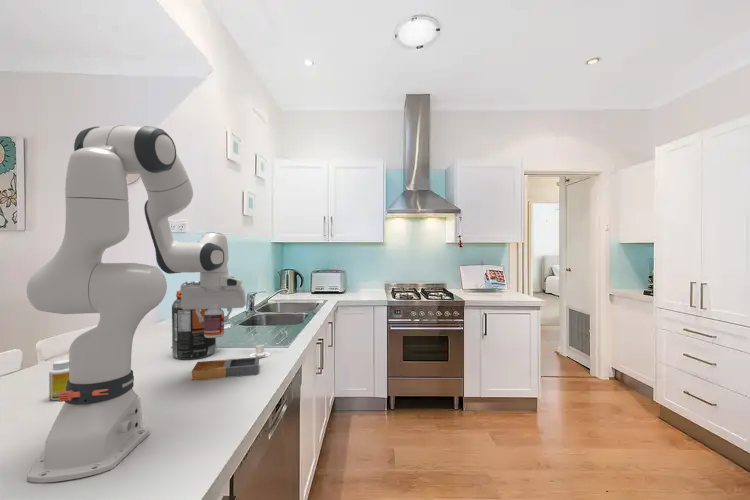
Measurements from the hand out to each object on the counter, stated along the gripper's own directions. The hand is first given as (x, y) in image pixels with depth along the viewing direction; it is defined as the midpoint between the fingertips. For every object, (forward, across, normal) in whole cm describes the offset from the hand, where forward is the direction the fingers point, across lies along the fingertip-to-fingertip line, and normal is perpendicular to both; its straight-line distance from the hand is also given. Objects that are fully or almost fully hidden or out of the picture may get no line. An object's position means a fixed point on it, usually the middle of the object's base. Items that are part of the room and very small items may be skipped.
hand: (214, 321), depth 127 cm
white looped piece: (+18, +12, +18) cm, 28 cm away
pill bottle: (+5, 0, 0) cm, 5 cm away
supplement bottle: (+18, -39, -10) cm, 44 cm away
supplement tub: (+17, -11, +28) cm, 34 cm away
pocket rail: (+18, +4, +1) cm, 18 cm away
